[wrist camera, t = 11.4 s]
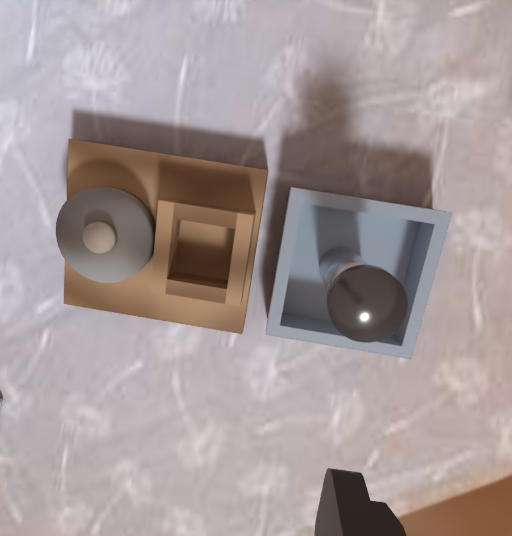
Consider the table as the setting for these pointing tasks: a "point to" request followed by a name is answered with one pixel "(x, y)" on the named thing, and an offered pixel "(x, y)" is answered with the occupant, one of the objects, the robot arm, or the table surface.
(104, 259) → the block
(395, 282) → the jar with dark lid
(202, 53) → the table surface
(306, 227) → the tray
